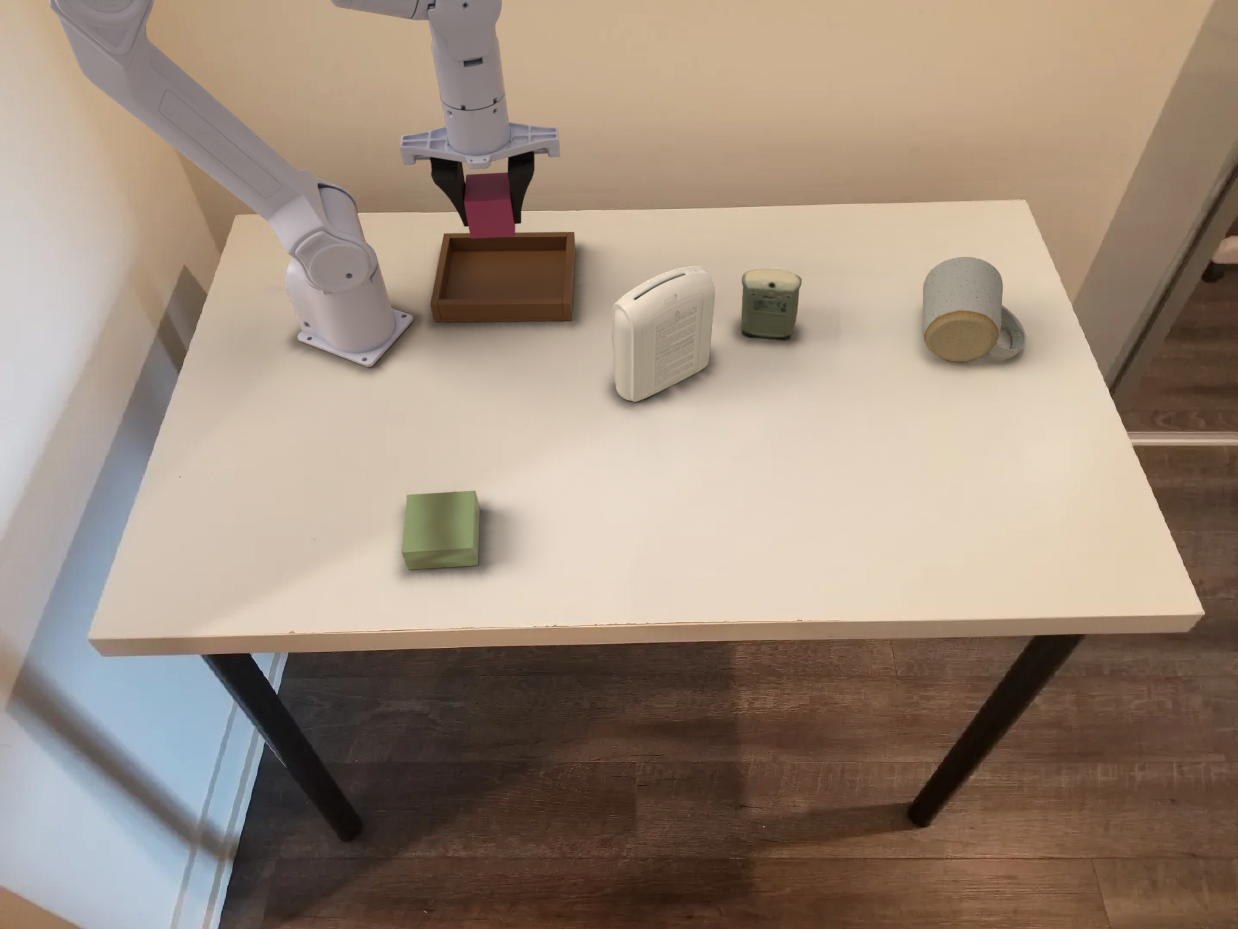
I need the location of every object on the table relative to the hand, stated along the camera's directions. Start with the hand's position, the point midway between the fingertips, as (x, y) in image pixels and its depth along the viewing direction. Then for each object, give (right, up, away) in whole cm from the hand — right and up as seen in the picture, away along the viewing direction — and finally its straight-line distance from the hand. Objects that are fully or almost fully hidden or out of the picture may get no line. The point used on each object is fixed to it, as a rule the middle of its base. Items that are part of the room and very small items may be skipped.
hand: (492, 218), depth 93 cm
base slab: (-3, -31, -11) cm, 33 cm away
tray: (0, -5, +9) cm, 10 cm away
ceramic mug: (+48, -12, +3) cm, 50 cm away
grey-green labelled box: (+28, -11, +4) cm, 30 cm away
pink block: (0, 0, 0) cm, 1 cm away
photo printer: (+17, -16, +1) cm, 23 cm away
